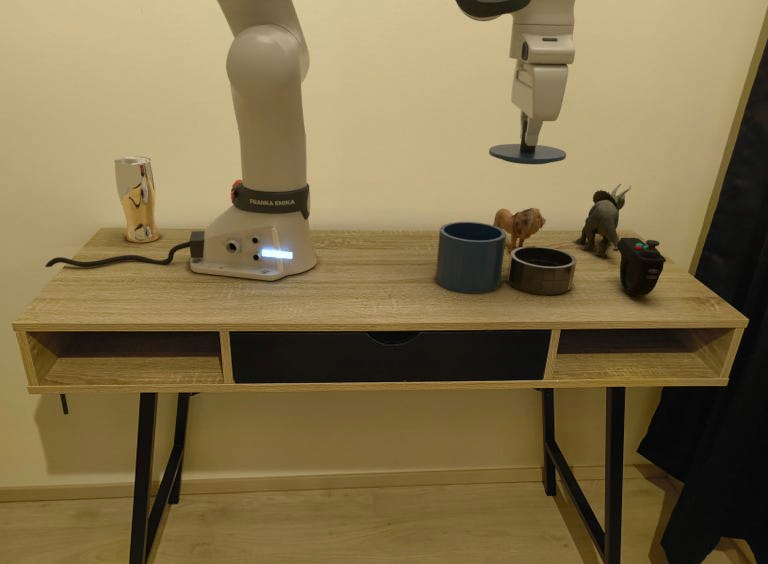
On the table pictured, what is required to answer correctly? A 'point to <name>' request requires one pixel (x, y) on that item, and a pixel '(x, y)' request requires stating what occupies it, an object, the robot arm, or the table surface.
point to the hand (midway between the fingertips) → (528, 142)
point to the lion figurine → (519, 224)
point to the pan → (541, 270)
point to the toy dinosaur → (603, 221)
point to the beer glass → (137, 197)
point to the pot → (470, 257)
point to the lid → (527, 152)
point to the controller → (639, 265)
